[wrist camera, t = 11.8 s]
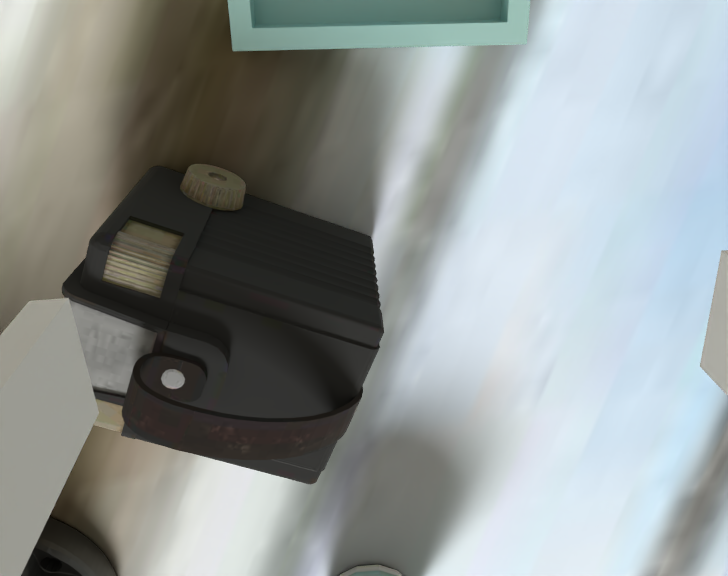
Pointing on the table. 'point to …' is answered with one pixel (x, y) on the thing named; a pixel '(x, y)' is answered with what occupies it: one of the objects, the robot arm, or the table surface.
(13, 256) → the table surface
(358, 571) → the disposable coffee cup
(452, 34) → the tray
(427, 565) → the table surface
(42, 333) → the robot arm
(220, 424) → the camera
